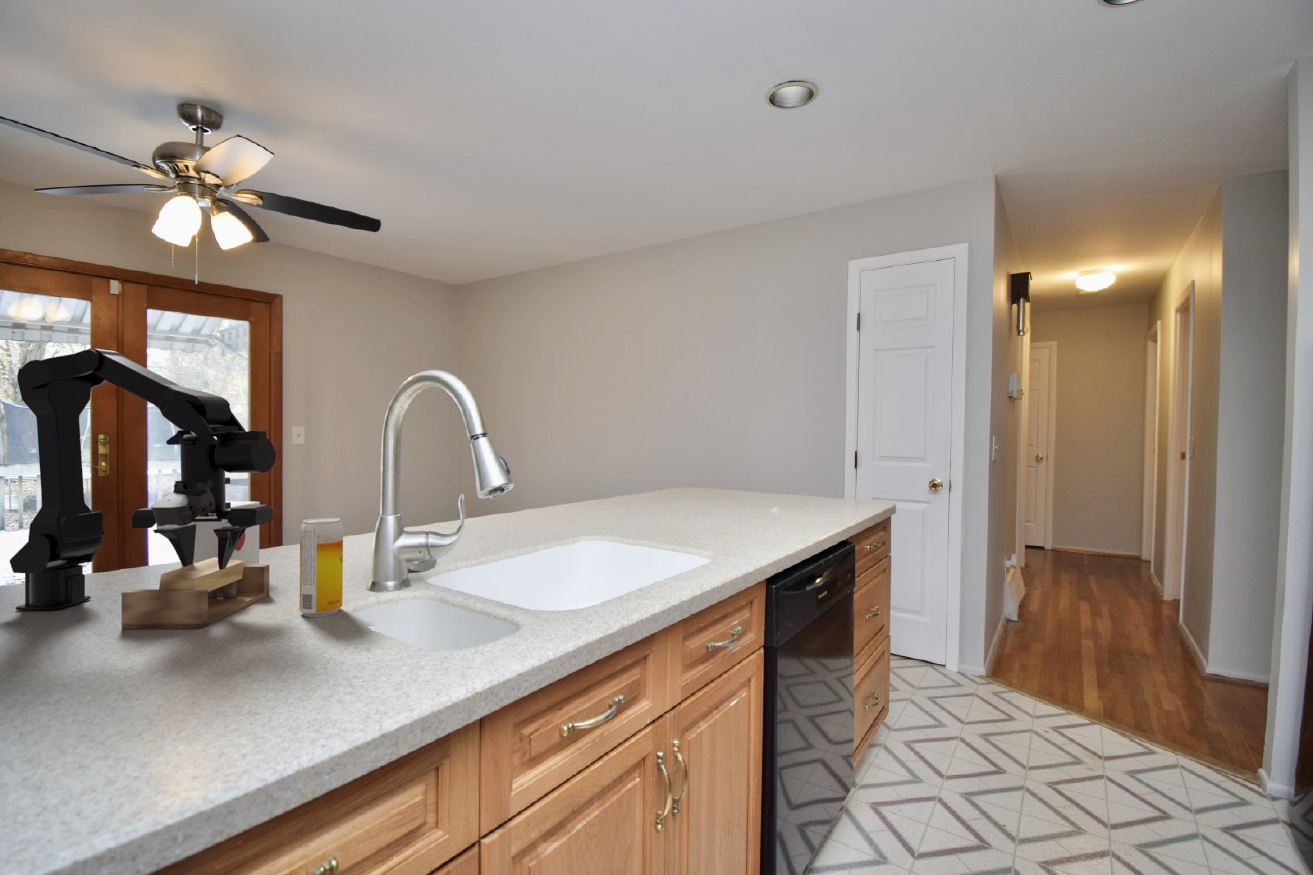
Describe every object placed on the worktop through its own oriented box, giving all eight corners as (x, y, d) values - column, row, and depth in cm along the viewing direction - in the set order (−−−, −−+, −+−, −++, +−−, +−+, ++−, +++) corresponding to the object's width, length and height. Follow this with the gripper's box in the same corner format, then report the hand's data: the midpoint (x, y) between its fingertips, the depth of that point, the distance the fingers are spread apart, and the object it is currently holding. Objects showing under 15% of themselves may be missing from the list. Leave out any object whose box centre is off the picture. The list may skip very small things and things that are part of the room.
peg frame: (121, 629, 89) (121, 592, 89) (203, 594, 107) (204, 564, 107) (200, 628, 90) (200, 592, 90) (269, 594, 108) (269, 564, 108)
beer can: (350, 607, 102) (351, 517, 101) (327, 619, 96) (327, 523, 95) (315, 605, 102) (316, 516, 102) (290, 617, 96) (291, 522, 96)
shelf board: (158, 594, 92) (161, 574, 92) (212, 574, 104) (214, 557, 104) (192, 598, 93) (195, 578, 93) (242, 578, 105) (244, 561, 105)
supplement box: (227, 588, 112) (228, 507, 111) (179, 587, 112) (179, 505, 111) (261, 576, 121) (261, 500, 120) (216, 575, 121) (216, 499, 120)
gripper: (99, 478, 90) (102, 584, 90) (232, 476, 91) (234, 581, 91) (156, 472, 101) (158, 566, 101) (274, 470, 102) (276, 564, 102)
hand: (205, 569), depth 99 cm, fingers closed on shelf board, 5 cm apart
